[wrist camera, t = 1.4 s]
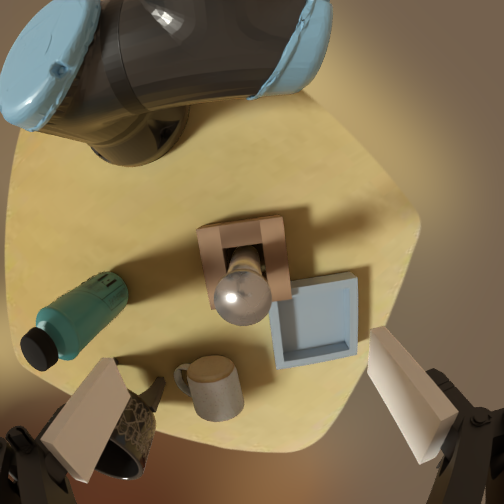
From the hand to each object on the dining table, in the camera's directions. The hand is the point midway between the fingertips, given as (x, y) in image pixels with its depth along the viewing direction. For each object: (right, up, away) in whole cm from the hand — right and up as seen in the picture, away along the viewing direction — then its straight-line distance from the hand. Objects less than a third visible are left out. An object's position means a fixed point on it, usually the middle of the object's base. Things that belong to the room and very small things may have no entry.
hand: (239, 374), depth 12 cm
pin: (0, +5, +24) cm, 25 cm away
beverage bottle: (-20, 0, +25) cm, 32 cm away
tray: (+9, -4, +26) cm, 28 cm away
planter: (-19, -16, +28) cm, 38 cm away
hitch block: (0, +5, +24) cm, 25 cm away
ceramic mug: (-6, -14, +28) cm, 32 cm away
